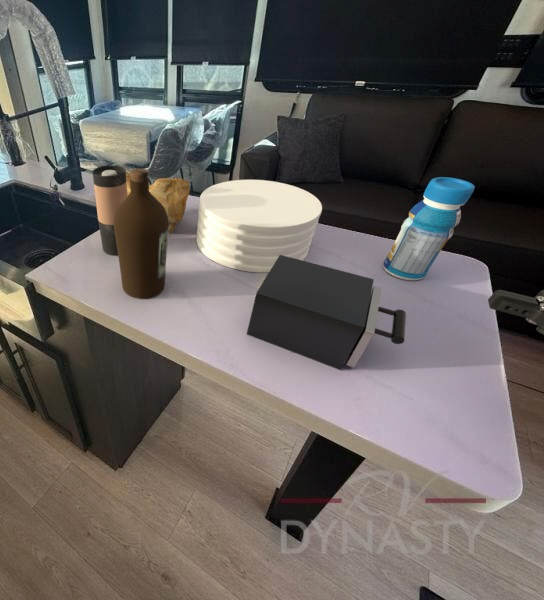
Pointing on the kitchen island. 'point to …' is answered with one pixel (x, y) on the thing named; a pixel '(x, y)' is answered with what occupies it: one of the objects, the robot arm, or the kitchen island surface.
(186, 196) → the crumpled paper bag
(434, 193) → the beverage bottle
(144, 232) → the olive oil
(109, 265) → the kitchen island surface
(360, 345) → the drawer
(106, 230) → the travel mug
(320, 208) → the plate stack
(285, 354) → the kitchen island surface
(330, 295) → the cabinet
